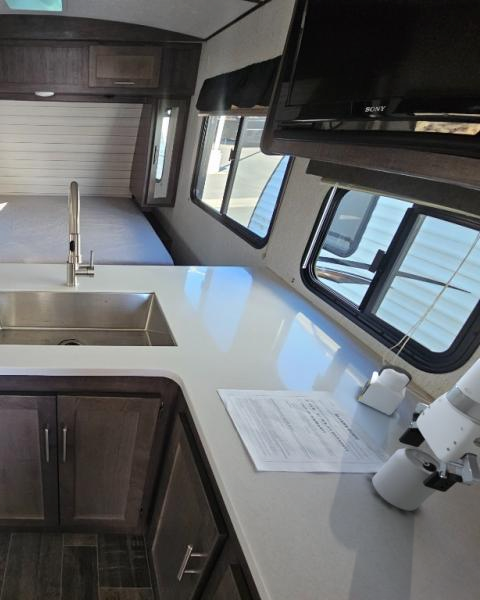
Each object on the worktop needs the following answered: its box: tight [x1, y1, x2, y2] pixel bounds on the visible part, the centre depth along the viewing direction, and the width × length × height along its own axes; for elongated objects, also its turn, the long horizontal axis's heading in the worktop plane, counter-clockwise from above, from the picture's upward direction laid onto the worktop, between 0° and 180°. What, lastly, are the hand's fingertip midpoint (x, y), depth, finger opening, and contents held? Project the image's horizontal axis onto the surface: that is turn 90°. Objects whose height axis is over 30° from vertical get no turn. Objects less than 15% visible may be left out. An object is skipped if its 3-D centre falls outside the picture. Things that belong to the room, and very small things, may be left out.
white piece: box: [358, 364, 413, 416], centre depth 88 cm, size 7×7×12 cm
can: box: [371, 446, 440, 511], centre depth 65 cm, size 8×8×12 cm
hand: (419, 464), depth 63 cm, fingers open, 9 cm apart
